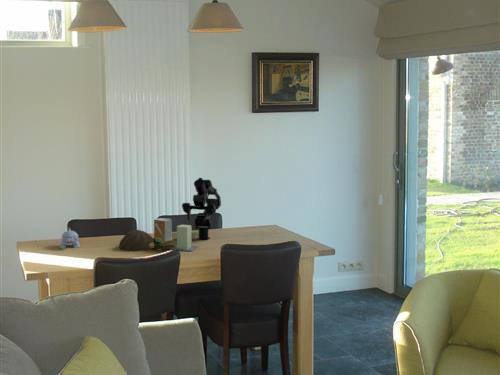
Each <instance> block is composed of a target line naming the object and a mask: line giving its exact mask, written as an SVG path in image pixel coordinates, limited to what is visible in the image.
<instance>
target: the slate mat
mask: <svg viewBox="0 0 500 375" xmlns="http://www.w3.org/2000/svg"><path fill="white" fill-rule="evenodd" d="M191 246H192V247H191V248H189V249H178V248H177V247H175V246H173V247H172V248H170V250H178V251H177V252H189V253H190V252H194V251H195V250H196V249H197V248H198V247H199V246H198V245H191ZM170 250H169V251H170Z"/></svg>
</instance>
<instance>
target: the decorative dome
mask: <svg viewBox="0 0 500 375" xmlns="http://www.w3.org/2000/svg"><path fill="white" fill-rule="evenodd" d="M152 242H154V237H152V236H151V235H150V234H149V233H148V232H147V231H144V230H141V229H134V230H131V231H128V232H127V233H125V235H124V236H123V238H122V239H121V240H120V241H119V243H118V246H119V250H121V251H122V250H123V251H125V252H142V251H150V250H152V249H151V247H150V246H149V244H150V243H152Z"/></svg>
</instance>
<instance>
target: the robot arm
mask: <svg viewBox="0 0 500 375" xmlns="http://www.w3.org/2000/svg"><path fill="white" fill-rule="evenodd" d="M193 184H194V185H193V186H194V188H195V192H197V193H196V194H193V196H192V201H193V205H191V203H190V202H183V203H182V204H181V208H182V211H183V212H184V213H185V214H187V221H190V217H191V211H192V210H199V211H200V210H201V211H203V212H198V214H197V215H196V217H195V219H194V226H195V229H196V230H198V237H197V238H196V240H203V241H205V240H206V241H208V240H209V239H210V238H211V236H209V230H211V229H212V228H213V226H212V221H211V216H213V215H214V214H216V213H217V210H218V209H220V207H221V205H222V200H221V196H220V194H219V193H218V190H217V188H215V187H214V186H213V182H212V181H211V180H210V179H203V177H198V179H196V180H195V181H194V182H193ZM210 195H211V196H214V197H215V198H209V196H210Z"/></svg>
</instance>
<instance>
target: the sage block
mask: <svg viewBox="0 0 500 375" xmlns="http://www.w3.org/2000/svg"><path fill="white" fill-rule="evenodd" d="M176 245H177V248H178V249H189V248H191V247H192V246H193V245H192V225H190V224H180V225H179V224H178V225H177V226H176Z"/></svg>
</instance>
